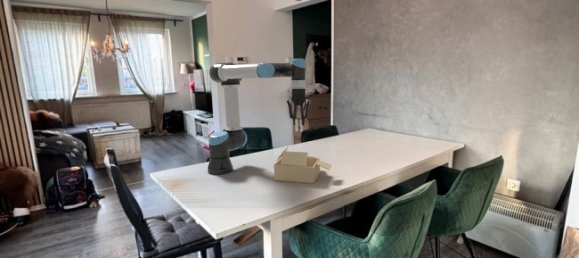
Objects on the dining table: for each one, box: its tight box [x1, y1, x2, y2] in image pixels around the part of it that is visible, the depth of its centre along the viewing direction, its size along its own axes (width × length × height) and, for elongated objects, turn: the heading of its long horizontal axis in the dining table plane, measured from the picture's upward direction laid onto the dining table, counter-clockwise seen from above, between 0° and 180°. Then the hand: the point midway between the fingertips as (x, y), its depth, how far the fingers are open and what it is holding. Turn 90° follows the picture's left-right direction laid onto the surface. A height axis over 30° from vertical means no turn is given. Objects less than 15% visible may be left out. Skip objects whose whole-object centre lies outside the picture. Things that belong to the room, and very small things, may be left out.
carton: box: [273, 157, 321, 185], centre depth 176 cm, size 22×18×9 cm
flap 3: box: [316, 159, 333, 171], centre depth 172 cm, size 8×8×1 cm
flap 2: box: [280, 150, 309, 166], centre depth 168 cm, size 14×8×1 cm
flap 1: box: [276, 146, 289, 162], centre depth 178 cm, size 8×8×1 cm
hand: (299, 130), depth 172 cm, fingers open, 2 cm apart
